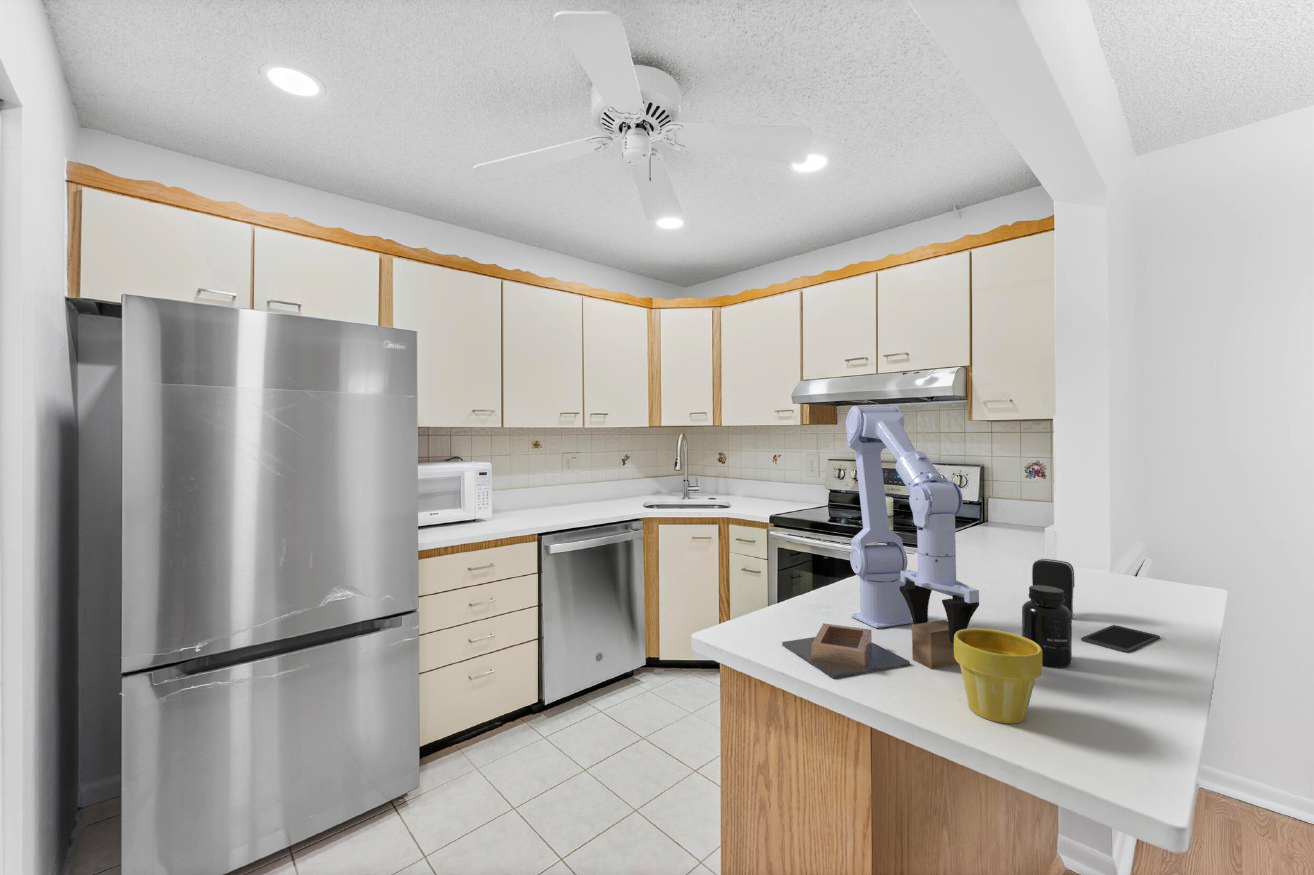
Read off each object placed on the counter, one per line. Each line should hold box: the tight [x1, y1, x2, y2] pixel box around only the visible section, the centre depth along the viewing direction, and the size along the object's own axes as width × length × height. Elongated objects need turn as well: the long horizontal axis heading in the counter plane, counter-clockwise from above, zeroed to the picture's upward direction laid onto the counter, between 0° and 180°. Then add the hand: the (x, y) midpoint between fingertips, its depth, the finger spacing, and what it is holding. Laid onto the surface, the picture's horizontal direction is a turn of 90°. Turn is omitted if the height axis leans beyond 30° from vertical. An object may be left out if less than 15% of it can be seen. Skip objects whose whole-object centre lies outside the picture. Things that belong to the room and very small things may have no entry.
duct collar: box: [781, 623, 911, 680], centre depth 96 cm, size 15×15×3 cm
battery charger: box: [1031, 558, 1075, 619], centre depth 115 cm, size 7×4×11 cm, turn 43°
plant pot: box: [954, 627, 1043, 725], centre depth 75 cm, size 10×10×10 cm
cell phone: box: [1080, 624, 1161, 654], centre depth 101 cm, size 7×14×1 cm, turn 119°
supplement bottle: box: [1021, 584, 1073, 668], centre depth 92 cm, size 7×7×12 cm
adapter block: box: [911, 619, 960, 670], centre depth 92 cm, size 4×7×6 cm, turn 108°
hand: (938, 634), depth 92 cm, fingers open, 7 cm apart
